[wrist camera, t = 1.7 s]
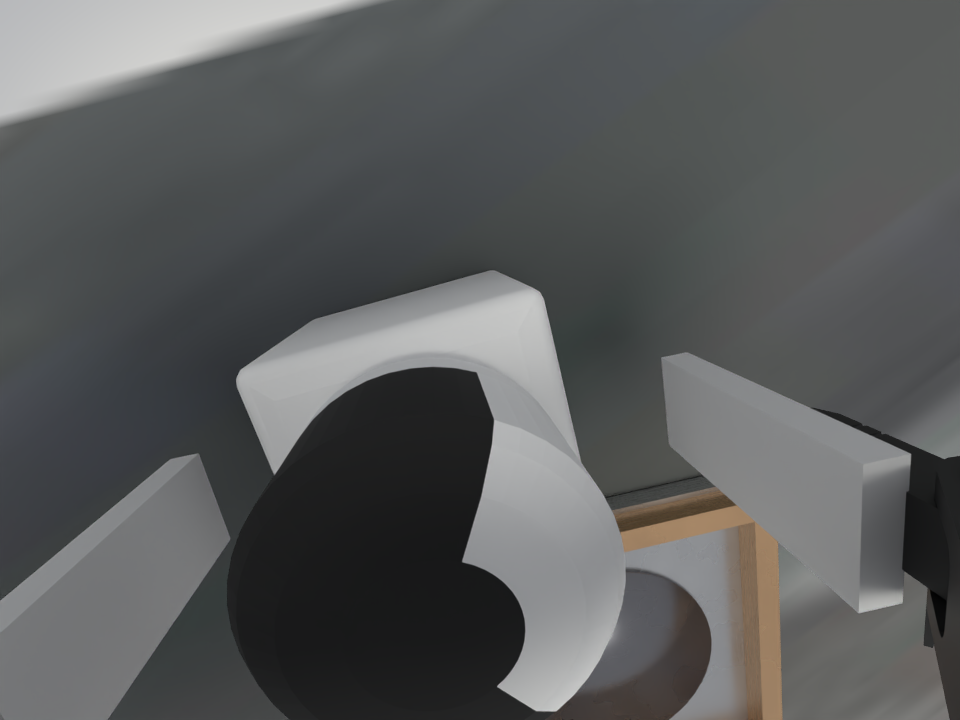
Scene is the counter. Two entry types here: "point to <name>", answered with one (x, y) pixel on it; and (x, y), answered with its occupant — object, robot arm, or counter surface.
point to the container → (422, 516)
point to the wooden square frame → (689, 614)
